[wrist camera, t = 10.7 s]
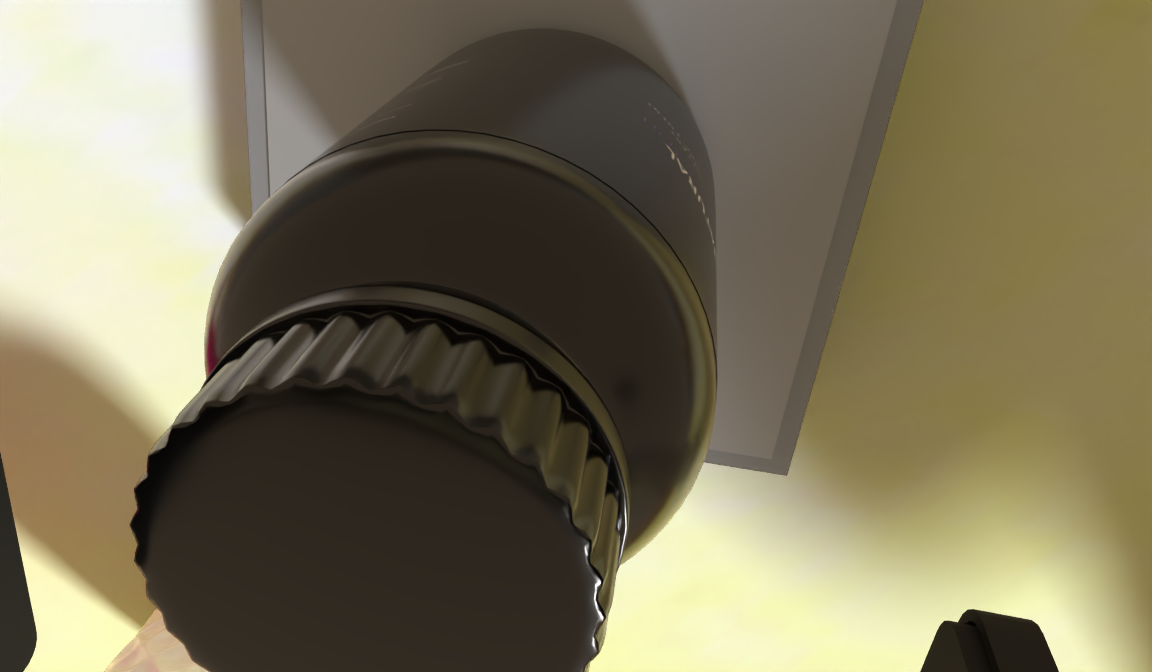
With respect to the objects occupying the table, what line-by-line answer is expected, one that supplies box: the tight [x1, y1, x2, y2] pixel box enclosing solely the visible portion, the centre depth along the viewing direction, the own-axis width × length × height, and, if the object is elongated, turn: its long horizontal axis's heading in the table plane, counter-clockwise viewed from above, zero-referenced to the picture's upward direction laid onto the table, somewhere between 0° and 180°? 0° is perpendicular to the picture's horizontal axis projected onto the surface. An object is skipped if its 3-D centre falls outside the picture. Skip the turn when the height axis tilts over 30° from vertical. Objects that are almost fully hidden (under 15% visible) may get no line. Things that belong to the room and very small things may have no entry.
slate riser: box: [241, 0, 923, 476], centre depth 21 cm, size 13×13×4 cm
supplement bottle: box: [130, 28, 718, 672], centre depth 14 cm, size 7×7×12 cm
